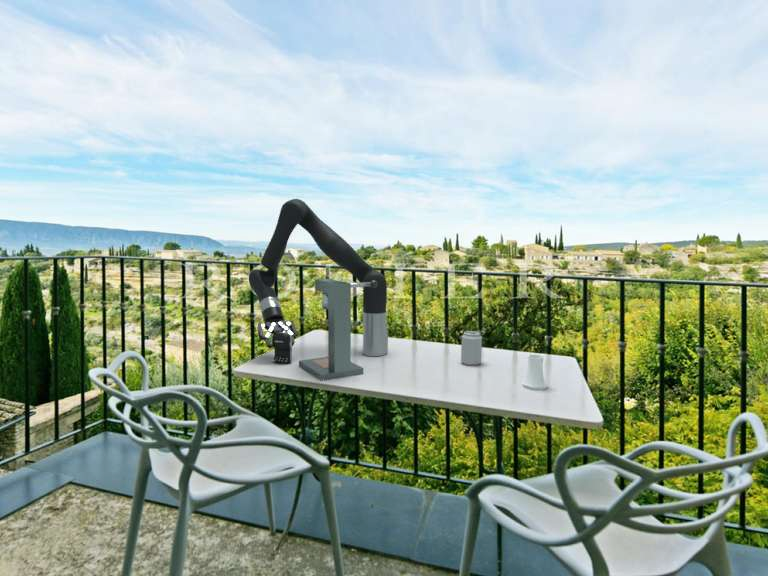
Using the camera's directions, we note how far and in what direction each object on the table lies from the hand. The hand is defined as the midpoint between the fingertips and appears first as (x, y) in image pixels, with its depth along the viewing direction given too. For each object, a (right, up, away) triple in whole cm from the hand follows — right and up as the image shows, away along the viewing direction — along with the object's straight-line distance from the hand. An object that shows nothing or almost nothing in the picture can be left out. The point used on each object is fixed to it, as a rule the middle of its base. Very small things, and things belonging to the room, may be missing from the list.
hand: (281, 346), depth 183 cm
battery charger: (0, -7, +1) cm, 7 cm away
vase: (+87, -10, -24) cm, 91 cm away
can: (+71, -7, +3) cm, 72 cm away
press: (+24, -7, -5) cm, 25 cm away
